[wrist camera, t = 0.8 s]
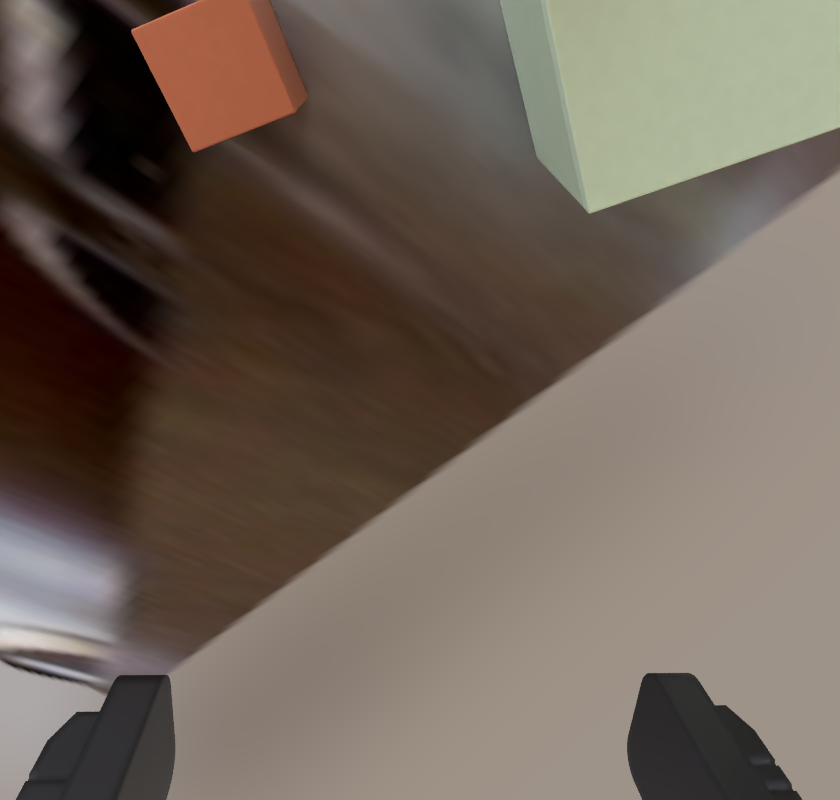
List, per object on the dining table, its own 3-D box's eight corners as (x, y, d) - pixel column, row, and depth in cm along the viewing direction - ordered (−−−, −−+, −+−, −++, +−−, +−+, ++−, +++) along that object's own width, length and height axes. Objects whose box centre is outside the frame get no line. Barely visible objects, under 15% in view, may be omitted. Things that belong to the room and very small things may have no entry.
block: (166, 26, 28) (129, 30, 24) (263, -15, 27) (241, -18, 23) (218, 133, 30) (192, 153, 26) (308, 98, 29) (295, 112, 25)
